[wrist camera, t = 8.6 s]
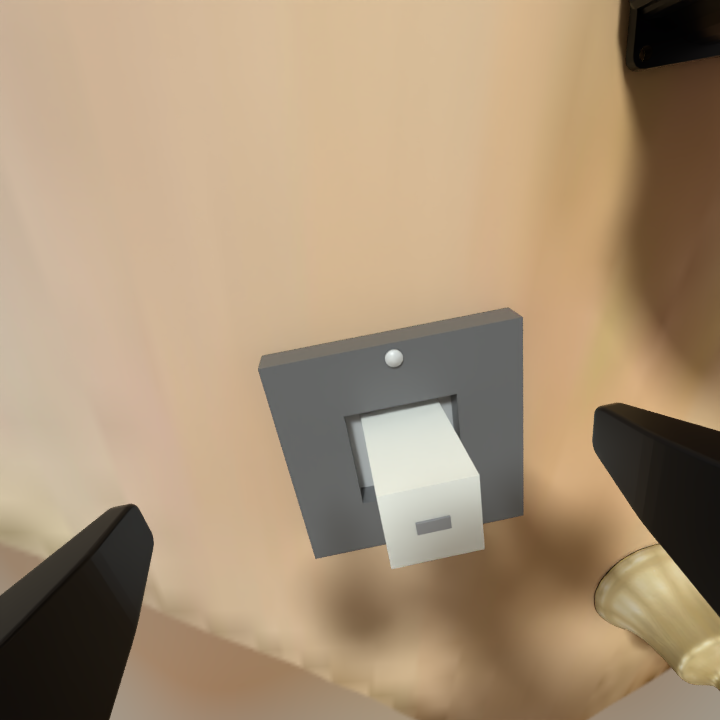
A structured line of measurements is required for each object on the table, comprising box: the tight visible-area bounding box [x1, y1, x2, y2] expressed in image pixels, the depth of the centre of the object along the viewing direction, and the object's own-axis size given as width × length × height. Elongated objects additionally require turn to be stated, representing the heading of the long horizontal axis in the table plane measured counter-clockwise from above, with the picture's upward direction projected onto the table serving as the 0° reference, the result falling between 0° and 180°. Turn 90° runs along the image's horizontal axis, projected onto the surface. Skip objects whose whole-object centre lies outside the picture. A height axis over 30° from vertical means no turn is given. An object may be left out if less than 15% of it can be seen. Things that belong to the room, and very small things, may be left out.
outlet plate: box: [258, 308, 523, 559], centre depth 21 cm, size 12×12×2 cm
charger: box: [360, 398, 485, 569], centre depth 19 cm, size 4×4×6 cm
